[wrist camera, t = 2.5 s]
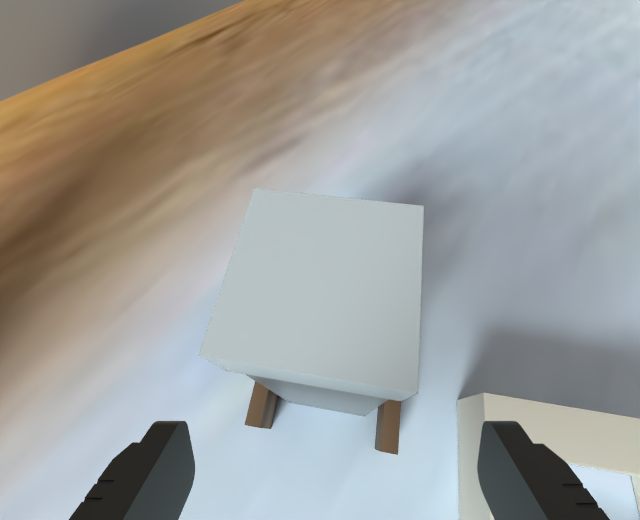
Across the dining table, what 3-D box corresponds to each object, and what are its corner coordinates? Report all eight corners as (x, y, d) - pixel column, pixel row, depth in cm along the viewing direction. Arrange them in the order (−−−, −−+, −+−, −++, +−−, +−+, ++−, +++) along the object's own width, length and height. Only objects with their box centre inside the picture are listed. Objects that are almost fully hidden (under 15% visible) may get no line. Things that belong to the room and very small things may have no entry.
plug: (286, 404, 20) (198, 355, 7) (301, 326, 22) (253, 187, 10) (366, 419, 19) (417, 393, 7) (374, 338, 21) (423, 205, 9)
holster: (257, 426, 19) (244, 424, 17) (285, 303, 23) (278, 286, 20) (389, 451, 18) (397, 454, 16) (397, 320, 22) (405, 304, 19)
